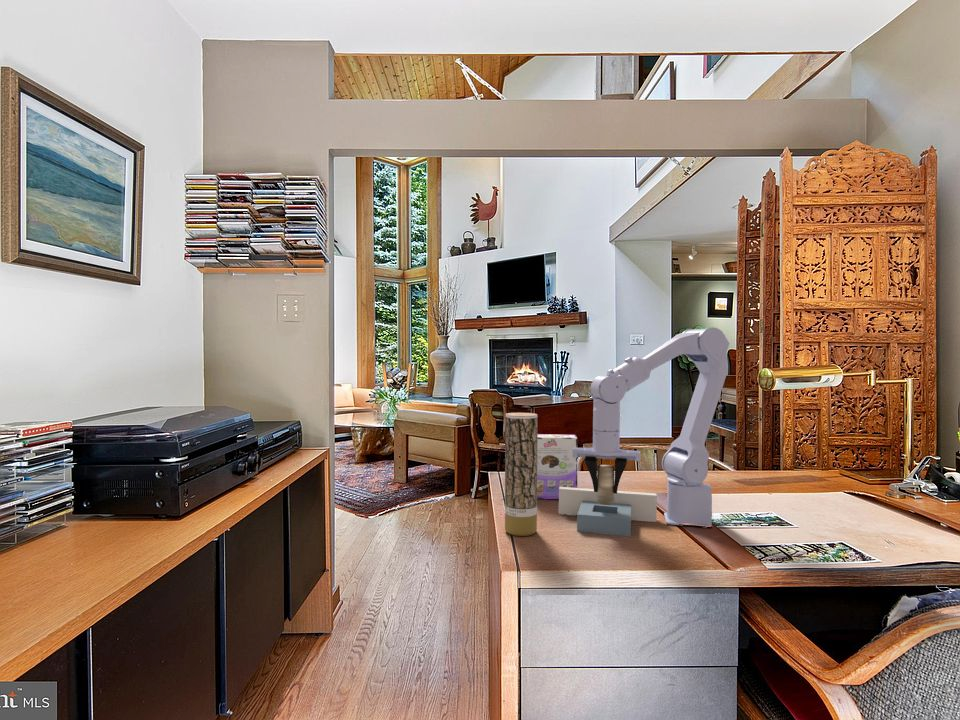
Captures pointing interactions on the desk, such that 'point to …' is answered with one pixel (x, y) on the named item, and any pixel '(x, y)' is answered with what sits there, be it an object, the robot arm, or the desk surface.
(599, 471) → the dowel
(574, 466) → the candy box
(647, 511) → the wall
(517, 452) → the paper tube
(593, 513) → the socket block
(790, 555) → the desk surface
